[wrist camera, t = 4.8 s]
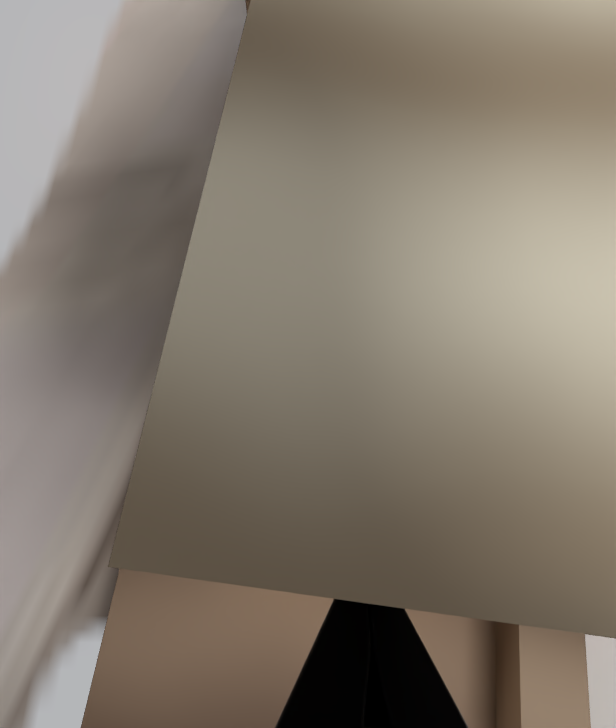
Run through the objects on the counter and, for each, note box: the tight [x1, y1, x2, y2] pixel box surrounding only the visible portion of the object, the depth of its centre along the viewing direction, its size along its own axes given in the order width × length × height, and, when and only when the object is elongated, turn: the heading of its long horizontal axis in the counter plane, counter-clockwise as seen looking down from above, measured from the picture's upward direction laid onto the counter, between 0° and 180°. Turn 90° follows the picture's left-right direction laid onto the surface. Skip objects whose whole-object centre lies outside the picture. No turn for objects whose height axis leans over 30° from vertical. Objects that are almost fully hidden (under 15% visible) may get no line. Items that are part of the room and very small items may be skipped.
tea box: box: [108, 0, 616, 638], centre depth 11 cm, size 13×6×9 cm, turn 173°
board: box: [81, 0, 591, 728], centre depth 15 cm, size 26×12×5 cm, turn 173°
